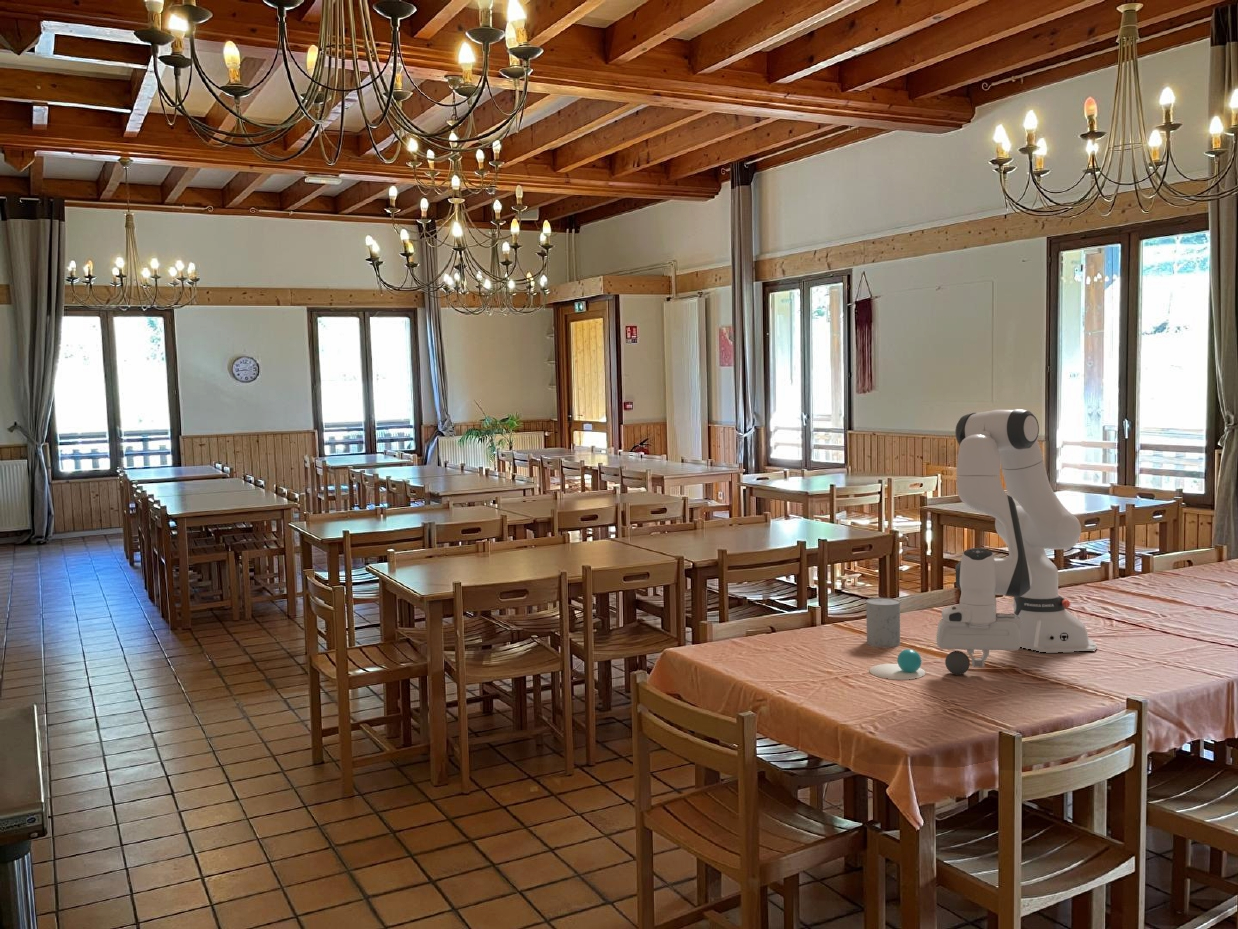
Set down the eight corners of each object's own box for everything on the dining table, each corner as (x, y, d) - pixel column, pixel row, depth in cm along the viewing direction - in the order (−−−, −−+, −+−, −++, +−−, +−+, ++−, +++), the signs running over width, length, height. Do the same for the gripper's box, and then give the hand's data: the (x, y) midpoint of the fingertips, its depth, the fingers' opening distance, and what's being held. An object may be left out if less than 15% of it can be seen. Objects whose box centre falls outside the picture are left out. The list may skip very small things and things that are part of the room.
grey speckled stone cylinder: (901, 640, 292) (901, 598, 291) (899, 648, 283) (899, 605, 282) (867, 638, 295) (867, 597, 294) (864, 646, 286) (864, 604, 285)
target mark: (922, 665, 266) (922, 664, 266) (927, 680, 252) (927, 679, 252) (868, 663, 269) (868, 663, 269) (870, 679, 255) (870, 678, 255)
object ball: (914, 643, 262) (892, 651, 263) (916, 649, 256) (894, 657, 257) (924, 664, 262) (902, 672, 263) (926, 670, 256) (903, 678, 257)
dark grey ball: (953, 643, 259) (938, 660, 260) (958, 650, 253) (942, 668, 254) (971, 657, 259) (956, 674, 260) (977, 665, 253) (961, 682, 254)
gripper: (1018, 611, 256) (1018, 663, 257) (935, 609, 260) (935, 661, 261) (1023, 616, 250) (1023, 670, 251) (938, 615, 254) (938, 668, 255)
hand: (978, 666), depth 256 cm, fingers closed
